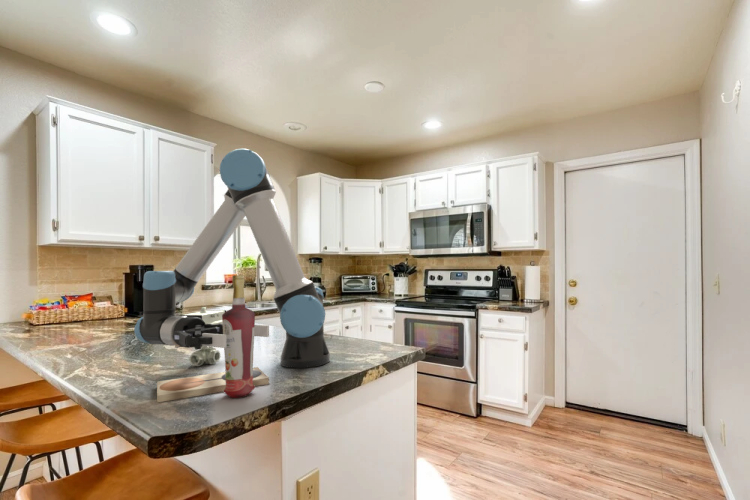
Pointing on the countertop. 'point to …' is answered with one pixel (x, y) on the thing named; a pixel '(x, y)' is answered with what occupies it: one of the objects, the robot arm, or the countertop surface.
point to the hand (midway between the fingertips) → (248, 335)
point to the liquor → (239, 343)
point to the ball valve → (205, 353)
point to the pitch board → (200, 385)
